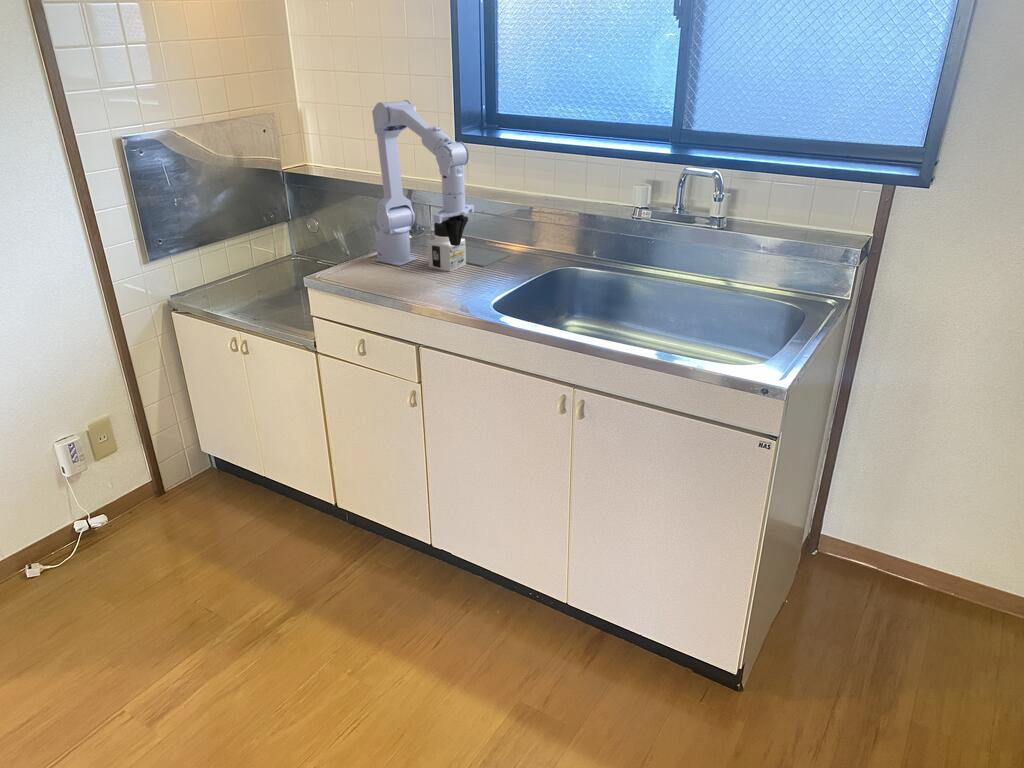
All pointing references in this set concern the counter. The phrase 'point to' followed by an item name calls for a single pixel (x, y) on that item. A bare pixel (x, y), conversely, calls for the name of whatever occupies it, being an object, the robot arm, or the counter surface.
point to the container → (445, 251)
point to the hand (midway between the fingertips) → (455, 244)
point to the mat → (482, 256)
